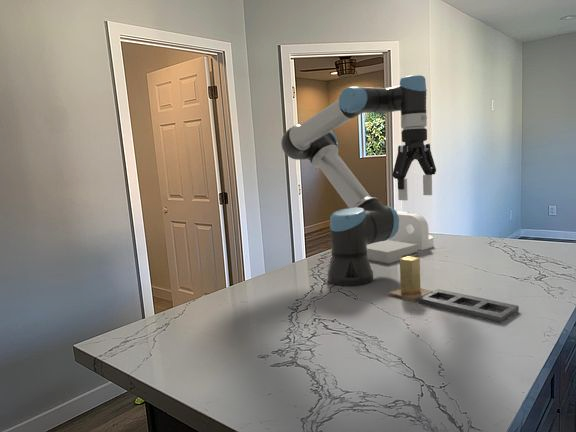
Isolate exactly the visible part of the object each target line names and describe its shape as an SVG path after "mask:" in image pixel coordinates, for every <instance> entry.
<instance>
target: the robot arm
mask: <svg viewBox="0 0 576 432" xmlns="http://www.w3.org/2000/svg"><path fill="white" fill-rule="evenodd" d="M427 91H428V90H427V82H426V78H425V76H423V75H418V74H417V75H415V74H414V75H408V76H404V77H402V78H400V79H399V84H398V85H396V86H392V87H385V88H384V87H364V86H363V87H362V86H358V85H357V86H355V85H354V86H348V87H345V88H343V89H342V91H341V93H340V94H339V97H338V99H337V100H336V101H334V102H332V103H331V104H330V105H328V106H326V107H325V108H324V109H322V110H321V111H319V112H318V113H316V114H314V115H313V116H312V117H310V118H309V119H307V120H306V121H304V122H303V123H301V124H294V125H293V126H292V127H290V128H289V129H288V130H286V131H285V132H284V134H283V135H282V138H281V148H282V150H283V151H282V152H283V153H284V154H285V155H286V156H287V157H288V158H290V159H292V160H296V161H297V160H299V161H301V160H309V163H311V165H312V166H313V167H314V168H316V169H320V170H321V172H322V173H323V174H324V176H325V177H326V178H327V180H328V181H329V183H330V184H331V186H332V187H333V188H334V189H335V191H336V192H337V194H338V195H339V196H340V198H341V199H342V200H343V202H344V203H345V204H346V206H347V207H348V208H342V209H341V208H340V209H339V210H335V211H334V212H332V214H330V217H329V232H330V234H329V235H330V247H331V248H330V249H331V260H330V263H329V268H328V271H327V281H328V283H330V284H332V285H333V284H334V285H336V286H343V287H345V286H348V287H349V286H350V287H353V286H361V285H362V286H363V285H366V284H369V283H371V282H373V281H374V271H373V269H372V266H371V264H370V259H368V257H367V245H368V244H372V243H376V242H380V241H386V240H387V239H390V238H392V237H394V236H395V235H396V233H397V231H398V229H399V217H398V214H397V212H396V209H394V208H393V207H392V206H388V205H383V203H382V202H381V201H380V199H378V197H372V196H371V195H370V194H369V193H368V191H367V190H366V189H365V188H364V185H362V183H361V182H360V181H359V180H358V179H357V177H356V176H355V175H354V173H353V172H352V171H351V169H350V168H349V167H348V165H347V164H346V163H345V162H344V160H343V158H342V157H340V155H339V143H338V138H337V136H336V134H335V133H334V132H333V131H334V130H336V129H337V128H339V127H341V126H343V125H344V124H346V123H347V122H349V121H351V120H352V119H354V118H357V117H358V116H360V115H361V114H364V113H368V114H370V113H373V114H375V115H380V114H382V115H383V114H384V115H385V114H387V113H393V112H398V111H400V128H401V129H402V130H401V143H404V145H403V144H402V145H400V144H399V145H398V146H397V155H396V160H395V164H394V167H393V171H392V175H391V176H392V177H393V178H394V179H395V180H396V179H397V191H398V195H397V196H398V201H408V200H409V199H408V198H409V197H408V178H406V177H407V174H408V172H409V169H410V167H411V165H412V163H413V161H414V160H417V162H418V164H419V165H420V168H421V169H422V171H423V173H424V174H423V175H422V184H423V185H422V192H423V194H422V195H423V196H433V175H436V173H437V168H436V164H435V161H434V158H433V154H432V151H431V144H430V143H425V141H427V140H428V129H427V128H426V127H427V125H428V123H427V122H428V121H427V119H428V117H427Z"/></svg>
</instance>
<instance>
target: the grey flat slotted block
mask: <svg viewBox="0 0 576 432" xmlns="http://www.w3.org/2000/svg"><path fill="white" fill-rule="evenodd" d="M437 298H441V299H437ZM443 299H446V300H443ZM418 303H419V304H421V305H424V306H429V307H433V308H437V309H440V310H446V311H449V312H452V313H458V314H461V315H466V316H470V317H473V318H477V317H478V318H477V319H481V320H486V321H490V322H494V323H497V324H503V323H504V322H505V321H508V320H509V319H510V318H511V317H513V316H514V315H516V314H517V313H519V305H517V304H512V303H508V302H502V301H498V300H493V299H487V298H483V297H479V296H473V295H468V294H464V293H458V292H454V291H450V290H445V289H440V288H438V289H436V290H434V291H433V292H431V293H429V294H427V295H425V296H423V297H421V298H419V300H418ZM461 303H463V304H461ZM465 304H469V305H472V306H469V305H465ZM488 309H491V310H494V311H491V310H488ZM495 311H500V313H499V312H495Z"/></svg>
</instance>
